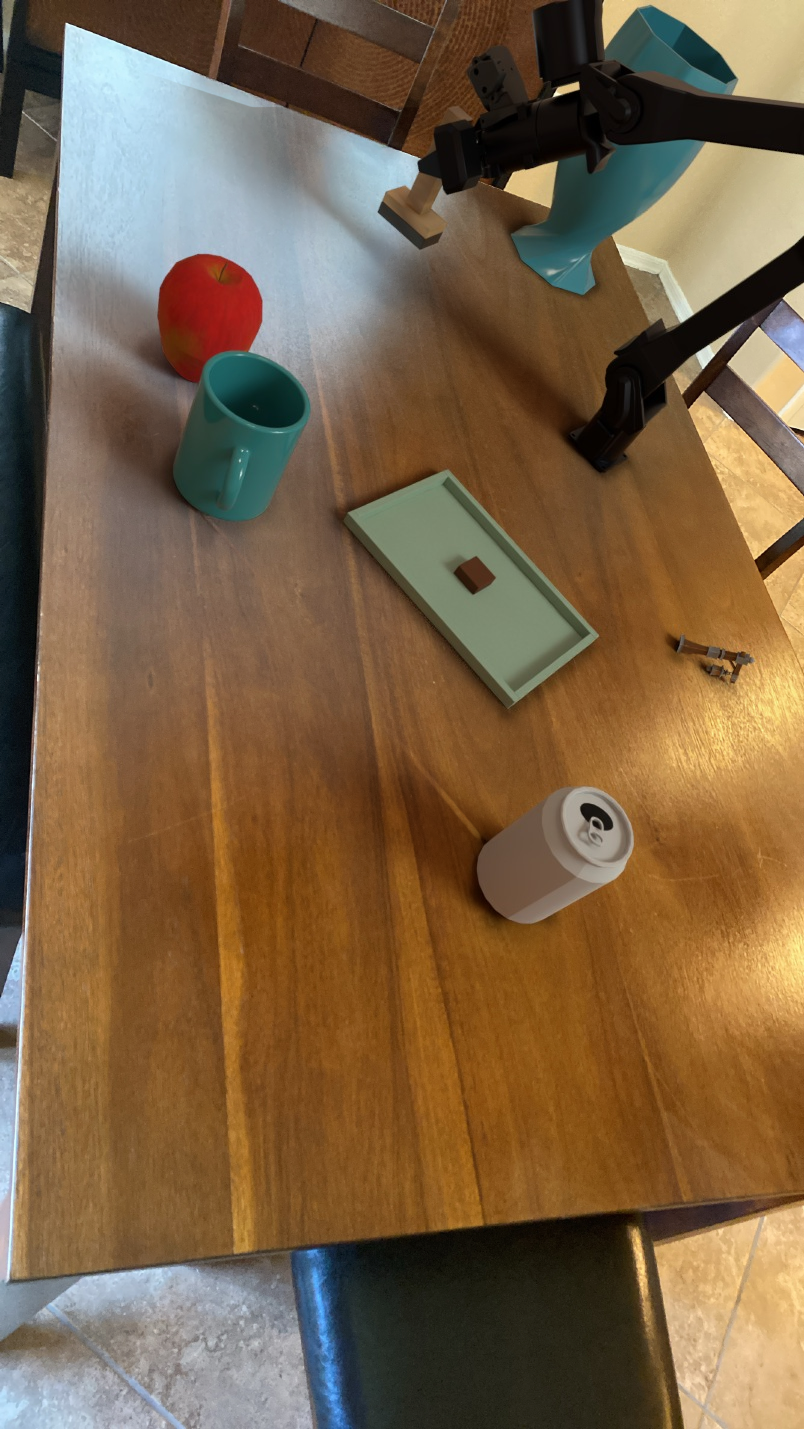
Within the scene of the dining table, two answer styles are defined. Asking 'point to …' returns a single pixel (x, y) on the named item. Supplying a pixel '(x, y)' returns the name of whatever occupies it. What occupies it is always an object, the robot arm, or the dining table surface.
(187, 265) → the apple
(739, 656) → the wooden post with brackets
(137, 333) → the dining table surface
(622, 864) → the can
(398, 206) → the brush
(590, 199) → the vase
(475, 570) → the crumb
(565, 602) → the tray
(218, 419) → the cup
